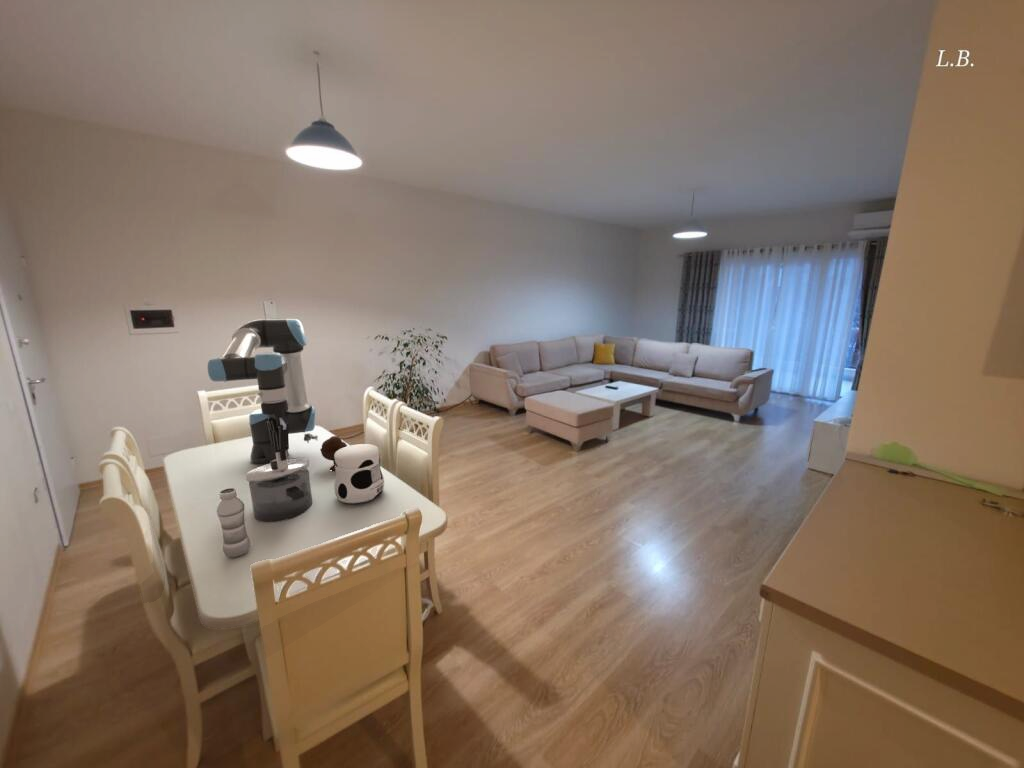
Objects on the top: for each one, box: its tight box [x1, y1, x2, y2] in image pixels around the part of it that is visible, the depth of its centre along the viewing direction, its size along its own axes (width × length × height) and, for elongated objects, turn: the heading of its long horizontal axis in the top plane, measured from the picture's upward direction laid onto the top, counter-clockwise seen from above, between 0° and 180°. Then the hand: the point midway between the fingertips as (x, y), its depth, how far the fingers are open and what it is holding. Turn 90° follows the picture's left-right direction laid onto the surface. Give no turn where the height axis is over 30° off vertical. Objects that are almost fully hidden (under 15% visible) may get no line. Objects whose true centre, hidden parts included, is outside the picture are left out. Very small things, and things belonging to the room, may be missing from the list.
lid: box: [245, 457, 310, 482], centre depth 139 cm, size 20×19×4 cm
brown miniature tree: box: [319, 435, 348, 472], centre depth 173 cm, size 11×11×15 cm
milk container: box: [333, 443, 385, 505], centre depth 149 cm, size 17×17×18 cm
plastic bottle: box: [216, 487, 251, 559], centre depth 115 cm, size 6×7×20 cm
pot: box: [248, 468, 313, 523], centre depth 139 cm, size 24×18×12 cm
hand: (283, 468), depth 135 cm, fingers closed
